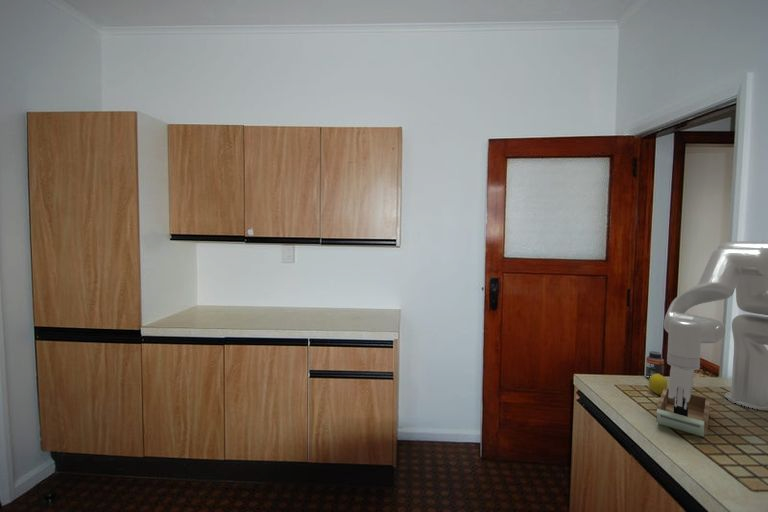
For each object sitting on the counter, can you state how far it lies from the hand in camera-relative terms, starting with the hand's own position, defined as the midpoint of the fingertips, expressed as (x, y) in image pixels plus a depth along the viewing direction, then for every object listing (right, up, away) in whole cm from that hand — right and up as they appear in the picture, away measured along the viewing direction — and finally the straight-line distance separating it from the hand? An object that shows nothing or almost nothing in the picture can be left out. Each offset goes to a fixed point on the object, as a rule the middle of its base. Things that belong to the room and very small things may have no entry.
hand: (680, 419), depth 109 cm
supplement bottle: (+23, -2, +41) cm, 47 cm away
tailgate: (+1, -4, +2) cm, 4 cm away
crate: (+8, -4, +9) cm, 12 cm away
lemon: (+13, -3, +27) cm, 30 cm away
